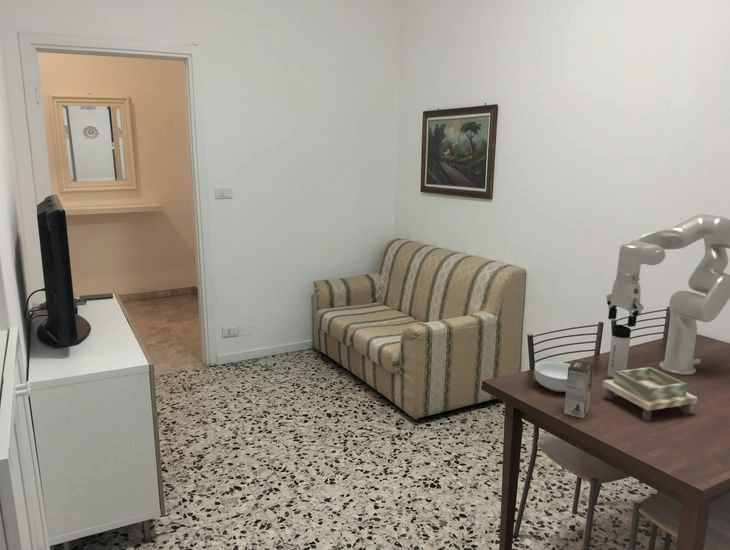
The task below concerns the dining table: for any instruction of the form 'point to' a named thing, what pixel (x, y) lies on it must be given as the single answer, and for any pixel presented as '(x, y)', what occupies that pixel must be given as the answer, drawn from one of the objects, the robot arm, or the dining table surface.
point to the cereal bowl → (552, 375)
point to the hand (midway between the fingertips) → (621, 322)
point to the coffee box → (578, 388)
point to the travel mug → (619, 350)
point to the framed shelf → (650, 390)
